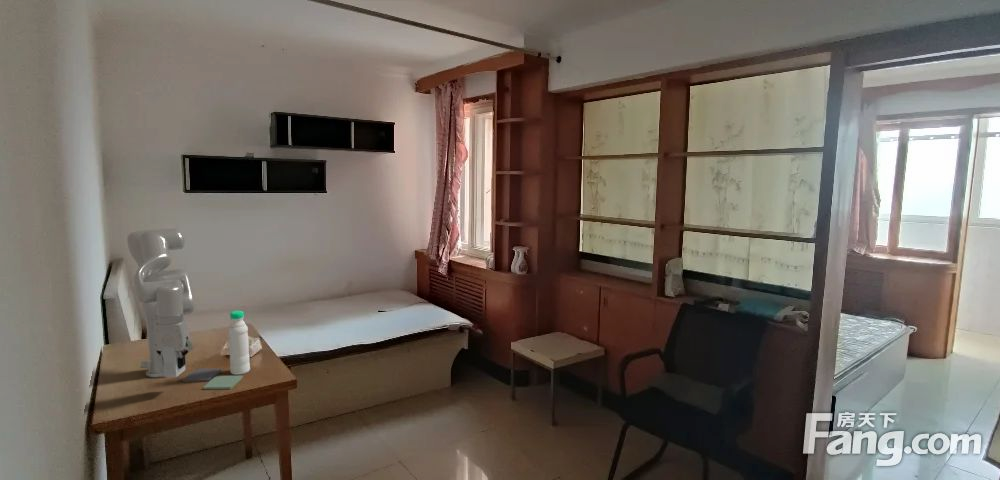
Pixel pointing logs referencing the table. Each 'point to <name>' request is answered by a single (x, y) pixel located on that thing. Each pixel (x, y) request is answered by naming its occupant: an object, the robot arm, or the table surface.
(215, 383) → the sage mat
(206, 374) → the charcoal mat
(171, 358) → the skincare box
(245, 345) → the water bottle
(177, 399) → the table surface
